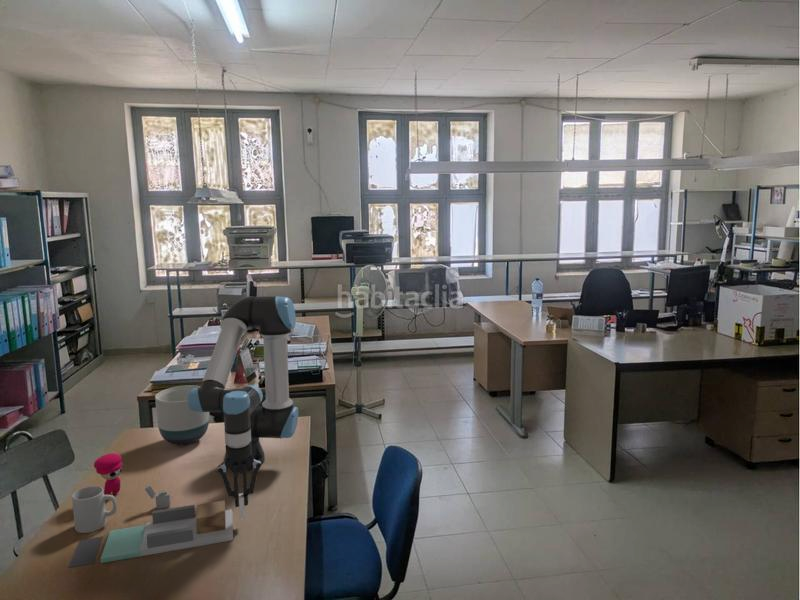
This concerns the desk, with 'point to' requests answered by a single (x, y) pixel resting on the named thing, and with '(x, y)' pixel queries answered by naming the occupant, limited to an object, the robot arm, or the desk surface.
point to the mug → (91, 509)
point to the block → (211, 517)
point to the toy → (109, 472)
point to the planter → (179, 417)
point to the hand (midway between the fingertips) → (242, 515)
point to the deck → (180, 531)
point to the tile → (123, 544)
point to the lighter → (159, 497)
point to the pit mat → (86, 552)
